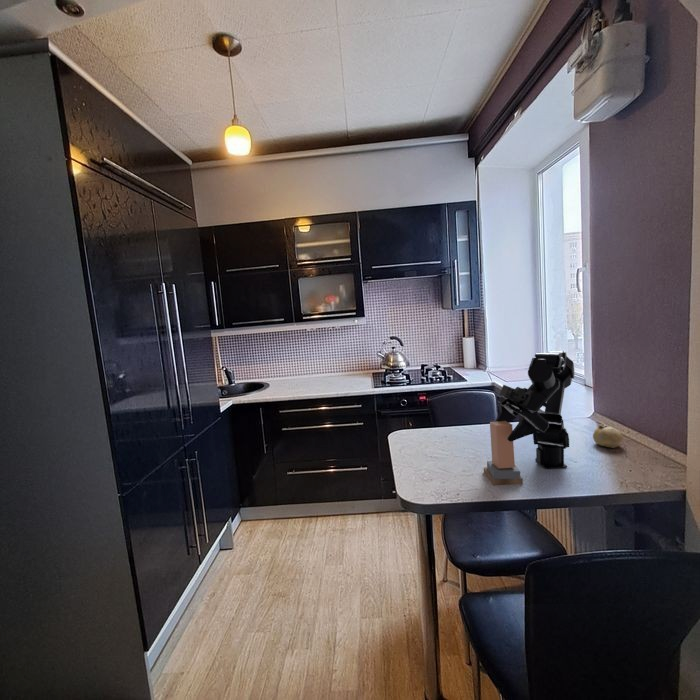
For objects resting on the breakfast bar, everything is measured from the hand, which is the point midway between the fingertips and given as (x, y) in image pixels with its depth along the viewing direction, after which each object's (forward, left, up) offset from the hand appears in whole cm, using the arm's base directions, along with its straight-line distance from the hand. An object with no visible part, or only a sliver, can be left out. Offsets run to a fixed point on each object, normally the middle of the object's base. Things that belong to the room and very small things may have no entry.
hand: (500, 434), depth 104 cm
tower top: (0, 0, -11) cm, 11 cm away
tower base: (0, 0, -13) cm, 14 cm away
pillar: (0, 0, -9) cm, 9 cm away
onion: (-41, -18, -13) cm, 47 cm away
